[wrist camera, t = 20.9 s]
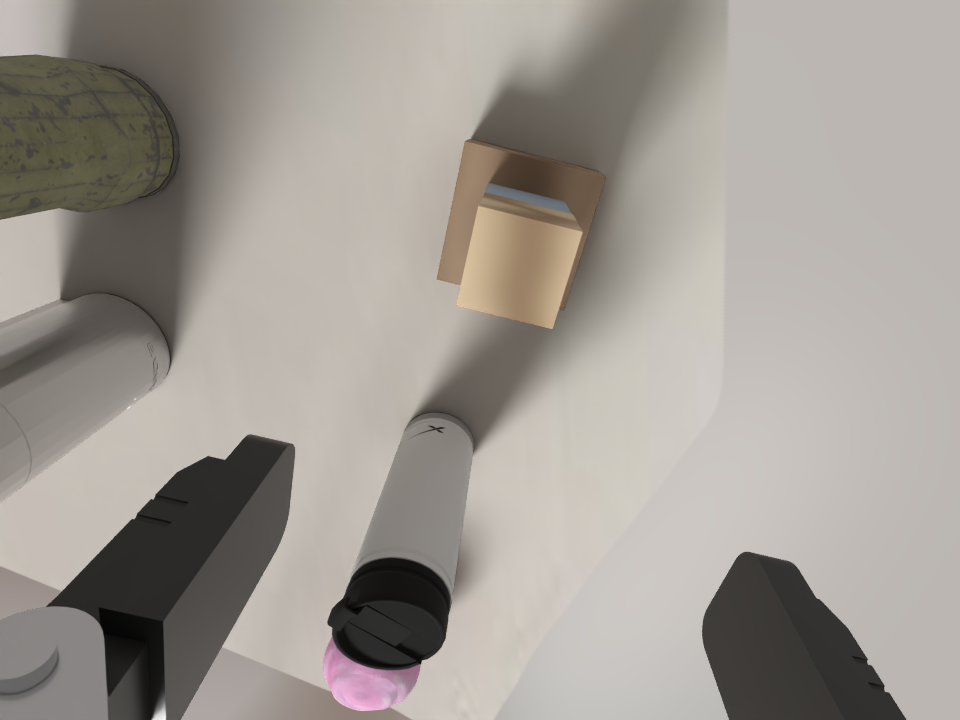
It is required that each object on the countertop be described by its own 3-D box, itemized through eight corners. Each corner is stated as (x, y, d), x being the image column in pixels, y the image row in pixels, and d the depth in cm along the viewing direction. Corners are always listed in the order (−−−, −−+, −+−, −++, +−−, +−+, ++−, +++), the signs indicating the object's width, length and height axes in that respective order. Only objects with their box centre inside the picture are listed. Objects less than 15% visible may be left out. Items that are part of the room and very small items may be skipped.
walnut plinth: (444, 264, 40) (436, 279, 37) (470, 138, 37) (465, 141, 33) (559, 293, 41) (563, 310, 37) (597, 171, 37) (605, 177, 33)
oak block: (465, 278, 32) (456, 305, 27) (484, 192, 29) (478, 205, 25) (548, 298, 32) (552, 329, 27) (573, 214, 30) (582, 231, 25)
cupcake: (331, 609, 57) (295, 703, 47) (371, 559, 53) (340, 650, 44) (403, 646, 58) (382, 744, 49) (446, 600, 55) (432, 696, 46)
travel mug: (428, 395, 45) (366, 582, 27) (488, 439, 47) (468, 646, 28) (385, 442, 47) (301, 644, 29) (444, 483, 49) (399, 700, 31)
